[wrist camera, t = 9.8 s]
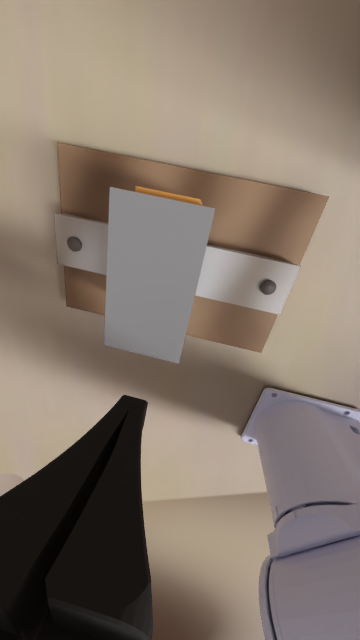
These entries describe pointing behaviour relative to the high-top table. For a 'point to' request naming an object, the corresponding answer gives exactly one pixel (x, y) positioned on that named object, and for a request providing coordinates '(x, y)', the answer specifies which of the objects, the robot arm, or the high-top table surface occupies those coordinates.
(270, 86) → the high-top table surface
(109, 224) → the block
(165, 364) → the high-top table surface
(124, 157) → the rail board
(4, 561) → the robot arm
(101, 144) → the high-top table surface
